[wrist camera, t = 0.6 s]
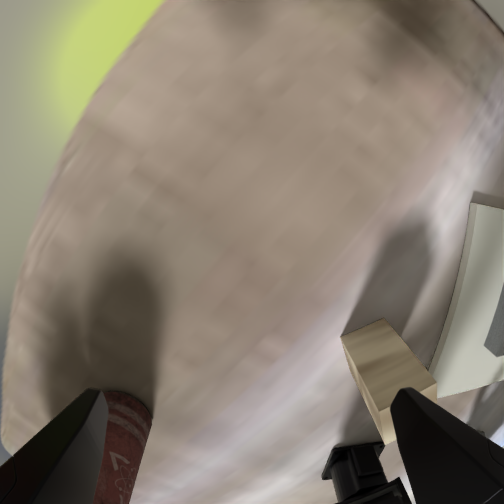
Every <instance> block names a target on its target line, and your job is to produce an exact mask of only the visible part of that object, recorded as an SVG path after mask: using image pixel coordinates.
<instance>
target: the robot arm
mask: <svg viewBox="0 0 504 504" xmlns="http://www.w3.org/2000/svg"><path fill="white" fill-rule="evenodd" d="M390 413H391V417H392V421H393V426H394V430H395V434H396V439H397V443H398V447H399V451H400V454H401V457H402V460H403V463H404V466H405V469H406V472H407V475H408V479H409V482H410V485H411V488H412V491H413V495H414V498H415V501H416V504H504V448H502V447H500V446H499V445H497V444H496V443H494V442H492V441H491V440H489V439H487V438H486V437H485V436H483V435H482V434H480V433H479V432H477V431H476V430H474V429H473V428H471V427H470V426H468V425H467V424H465V423H464V422H462V421H461V420H459V419H458V418H456V417H455V416H453V415H452V414H451V413H449V412H448V411H446V410H445V409H443V408H442V407H440V406H439V405H437V404H436V403H434V402H433V401H431V400H430V399H428V398H427V397H426V396H424V395H423V394H421V393H420V392H418V391H417V390H415V389H414V388H412V387H406V388H401V389H400V390H399V391H398V392H397V394H396V396H395V398H394V399H393V401H392V403H391V405H390ZM107 420H108V406H107V403H106V400H105V397H104V394H103V392H102V390H100V389H95V388H88V389H86V390H85V391H84V392H83V393H82V394H80V395H79V396H78V397H77V398H76V399H75V400H74V401H73V402H72V403H70V404H69V405H68V406H67V407H66V408H65V409H64V410H63V411H62V412H60V413H59V414H58V415H57V416H56V417H55V418H54V419H53V420H52V421H50V422H49V423H48V424H47V425H46V426H45V427H44V428H43V429H42V430H40V431H39V432H38V433H37V434H36V435H35V436H34V437H33V438H32V439H30V440H29V441H28V442H27V443H26V444H25V445H24V446H23V447H22V448H20V449H19V450H18V451H17V452H16V453H15V454H14V455H13V456H12V457H11V458H9V459H8V460H7V461H6V462H5V463H4V464H3V465H1V466H0V504H93V500H94V495H95V490H96V485H97V481H98V476H99V472H100V467H101V463H102V458H103V452H104V443H105V435H106V427H107ZM384 447H385V444H384V442H376V443H370V444H364V445H357V446H350V447H342V448H335V449H333V450H332V452H331V454H330V457H329V459H328V462H327V464H326V467H325V469H324V472H323V474H322V480H329V479H332V480H333V484H334V488H335V492H336V496H337V500H338V503H335V504H412V503H411V501H410V498H409V496H408V494H407V492H406V490H405V488H404V486H403V483H402V481H401V479H400V477H398V478H396V479H395V480H393V481H391V482H389V483H388V481H387V478H386V476H385V473H384V471H383V467H382V465H381V462H380V460H379V456H380V454H381V453H382V451H383V449H384Z"/></svg>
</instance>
